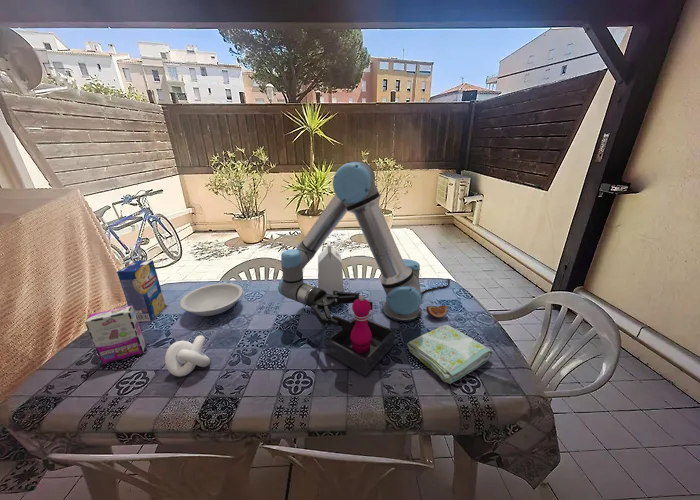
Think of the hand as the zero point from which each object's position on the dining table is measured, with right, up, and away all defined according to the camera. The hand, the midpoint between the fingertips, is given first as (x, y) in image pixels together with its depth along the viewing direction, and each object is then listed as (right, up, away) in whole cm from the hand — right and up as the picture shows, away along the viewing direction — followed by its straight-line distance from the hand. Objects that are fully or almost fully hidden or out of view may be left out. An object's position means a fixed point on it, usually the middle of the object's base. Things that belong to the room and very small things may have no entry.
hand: (361, 315), depth 88 cm
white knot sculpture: (-54, -15, -2) cm, 56 cm away
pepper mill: (0, -12, +4) cm, 13 cm away
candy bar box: (-80, -14, +3) cm, 81 cm away
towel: (+29, -14, +2) cm, 32 cm away
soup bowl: (-62, -4, +29) cm, 68 cm away
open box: (0, -13, +5) cm, 14 cm away
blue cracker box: (-88, -6, +25) cm, 91 cm away
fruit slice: (+32, -6, +23) cm, 40 cm away
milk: (-13, 0, +39) cm, 41 cm away
